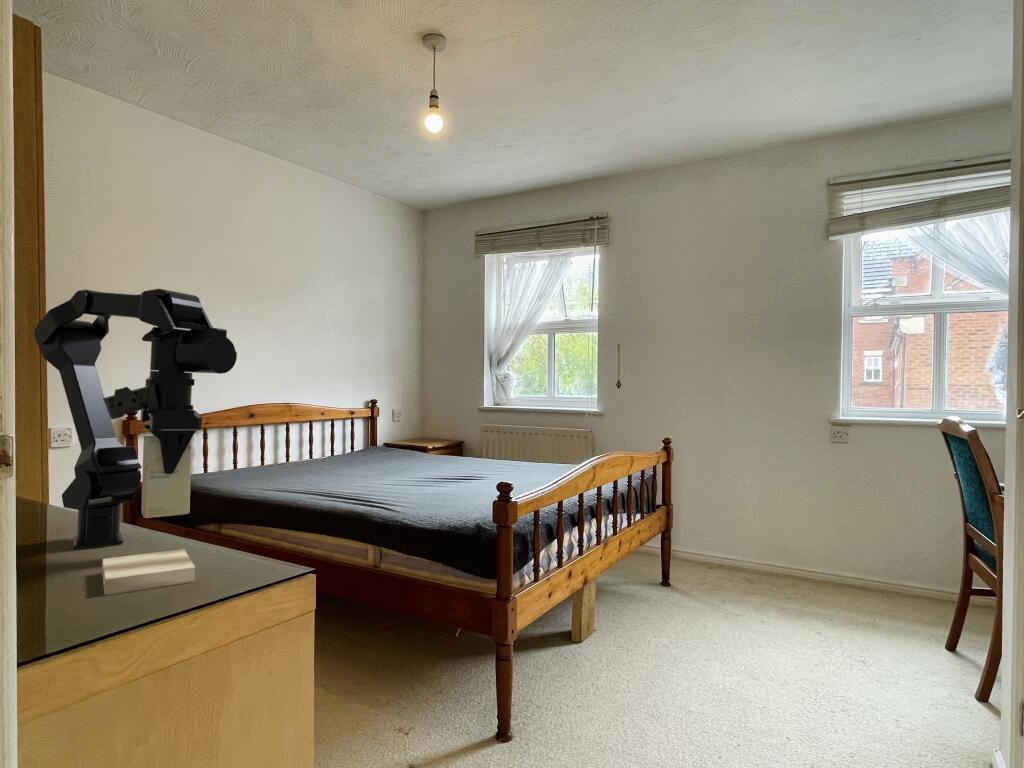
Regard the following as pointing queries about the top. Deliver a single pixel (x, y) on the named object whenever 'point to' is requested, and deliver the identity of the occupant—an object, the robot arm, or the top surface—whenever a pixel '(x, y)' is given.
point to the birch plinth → (146, 571)
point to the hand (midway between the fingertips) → (166, 471)
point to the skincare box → (164, 482)
